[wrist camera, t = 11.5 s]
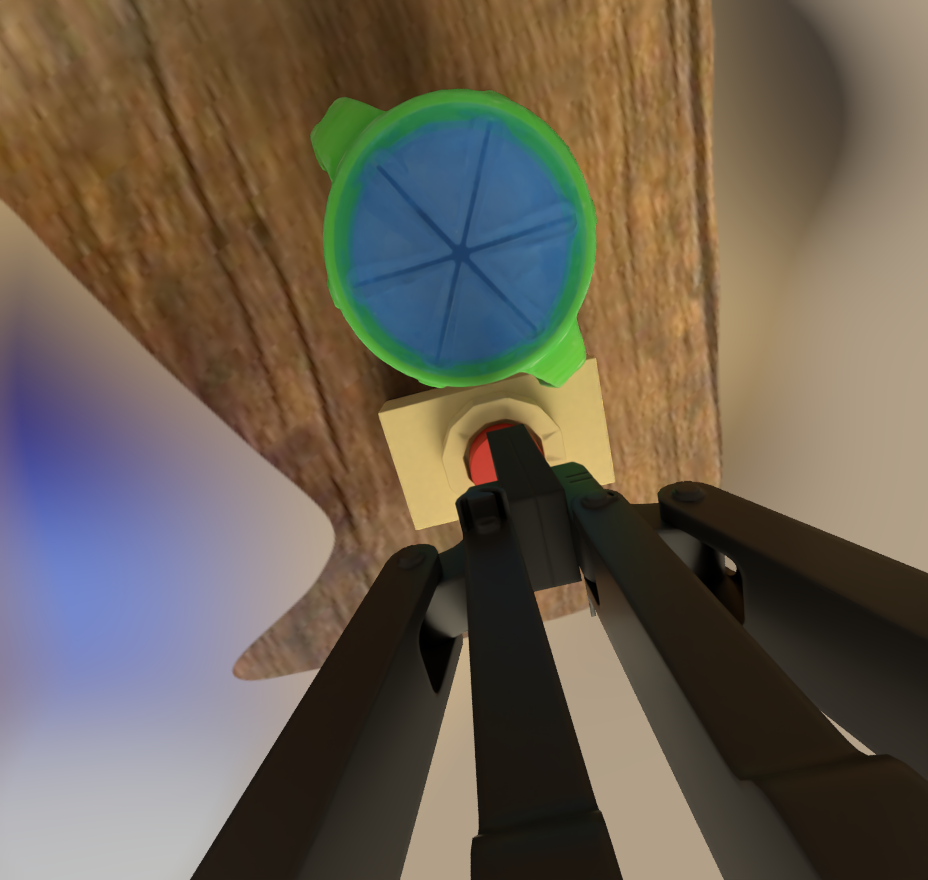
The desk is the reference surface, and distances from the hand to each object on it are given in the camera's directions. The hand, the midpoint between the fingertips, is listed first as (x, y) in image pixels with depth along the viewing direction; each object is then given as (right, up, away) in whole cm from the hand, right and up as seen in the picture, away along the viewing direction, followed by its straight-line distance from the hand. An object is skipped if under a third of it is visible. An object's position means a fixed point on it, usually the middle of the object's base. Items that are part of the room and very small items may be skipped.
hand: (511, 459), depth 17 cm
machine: (0, +1, +12) cm, 12 cm away
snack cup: (-2, +11, +9) cm, 14 cm away
